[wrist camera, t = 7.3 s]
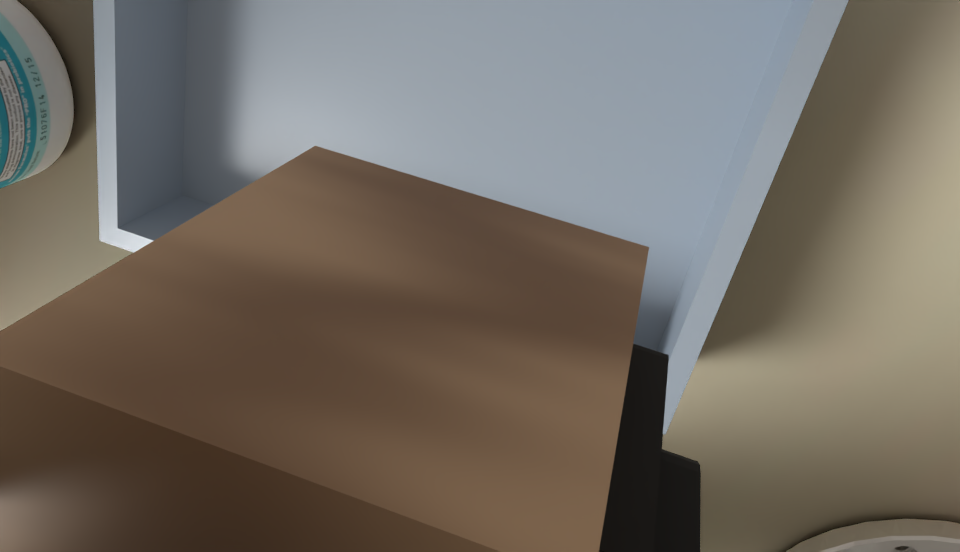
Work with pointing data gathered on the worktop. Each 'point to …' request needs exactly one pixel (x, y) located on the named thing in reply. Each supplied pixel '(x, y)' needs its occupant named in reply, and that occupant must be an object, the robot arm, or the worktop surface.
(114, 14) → the tote
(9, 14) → the pill bottle
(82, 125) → the worktop surface
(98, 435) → the walnut block
